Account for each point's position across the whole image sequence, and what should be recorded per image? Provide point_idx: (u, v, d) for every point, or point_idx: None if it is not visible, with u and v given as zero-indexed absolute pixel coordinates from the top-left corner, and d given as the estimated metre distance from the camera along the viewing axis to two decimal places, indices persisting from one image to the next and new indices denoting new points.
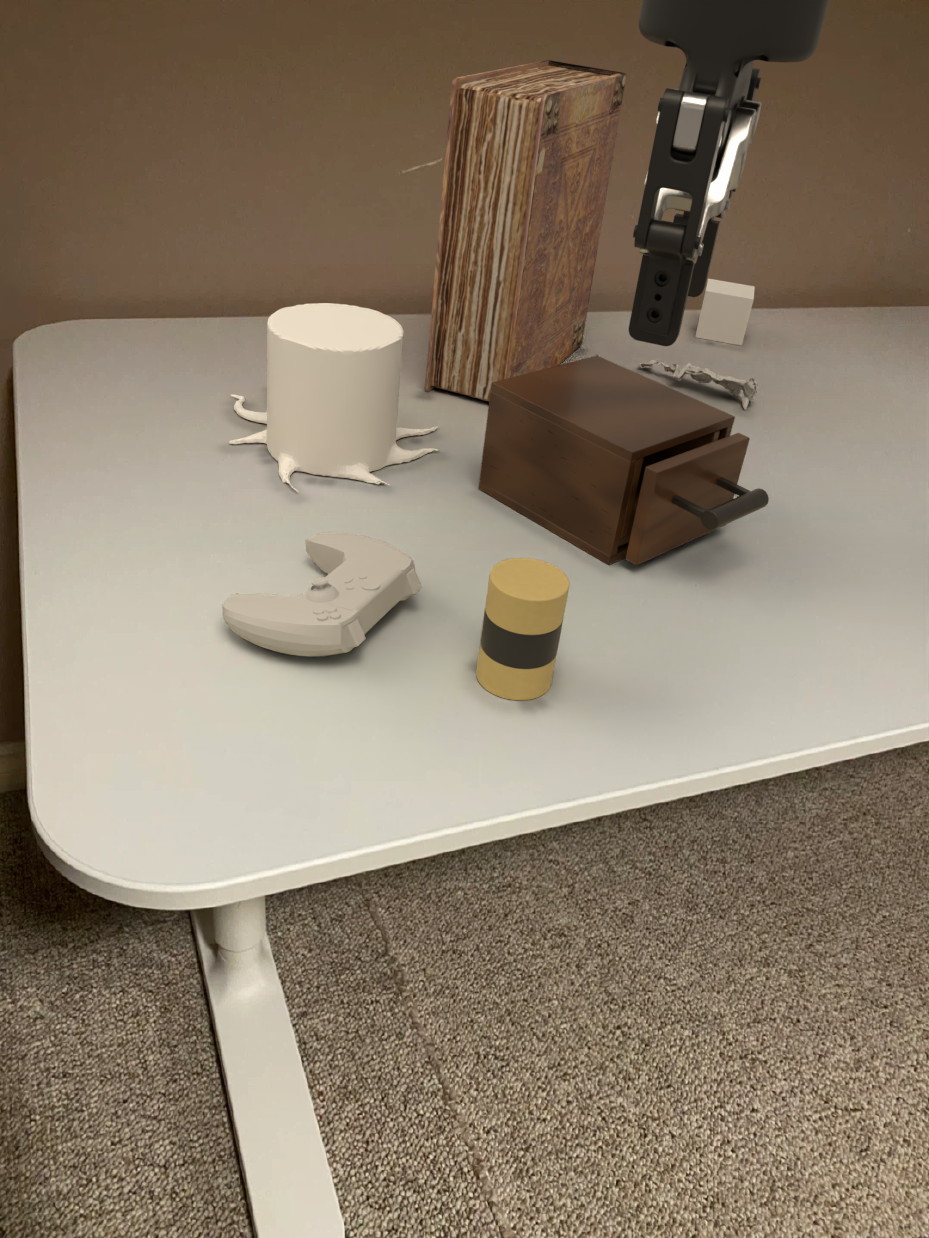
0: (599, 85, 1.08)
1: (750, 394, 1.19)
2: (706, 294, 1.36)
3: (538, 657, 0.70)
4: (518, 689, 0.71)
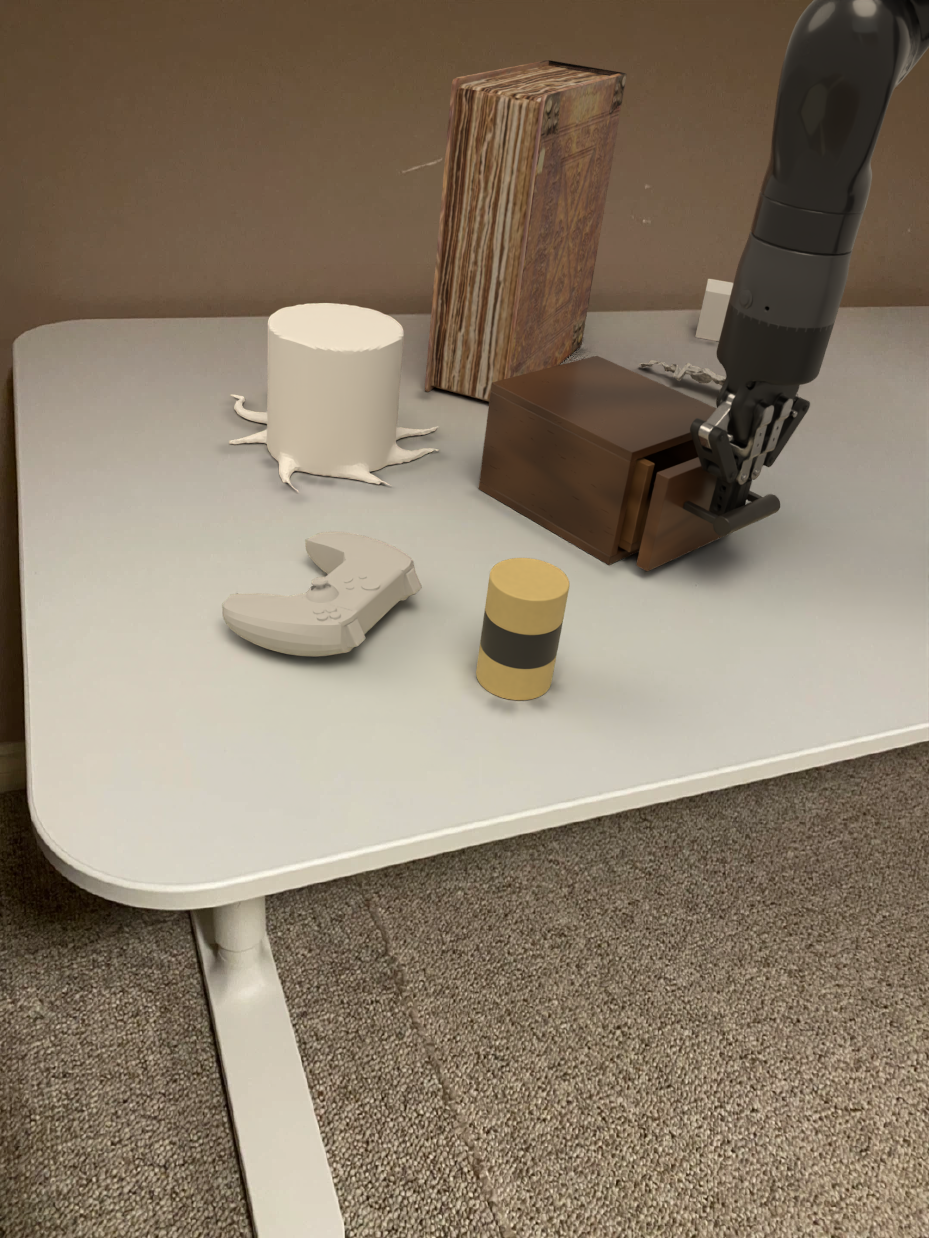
0: (599, 85, 1.08)
1: None
2: (706, 294, 1.36)
3: (538, 657, 0.70)
4: (518, 689, 0.71)
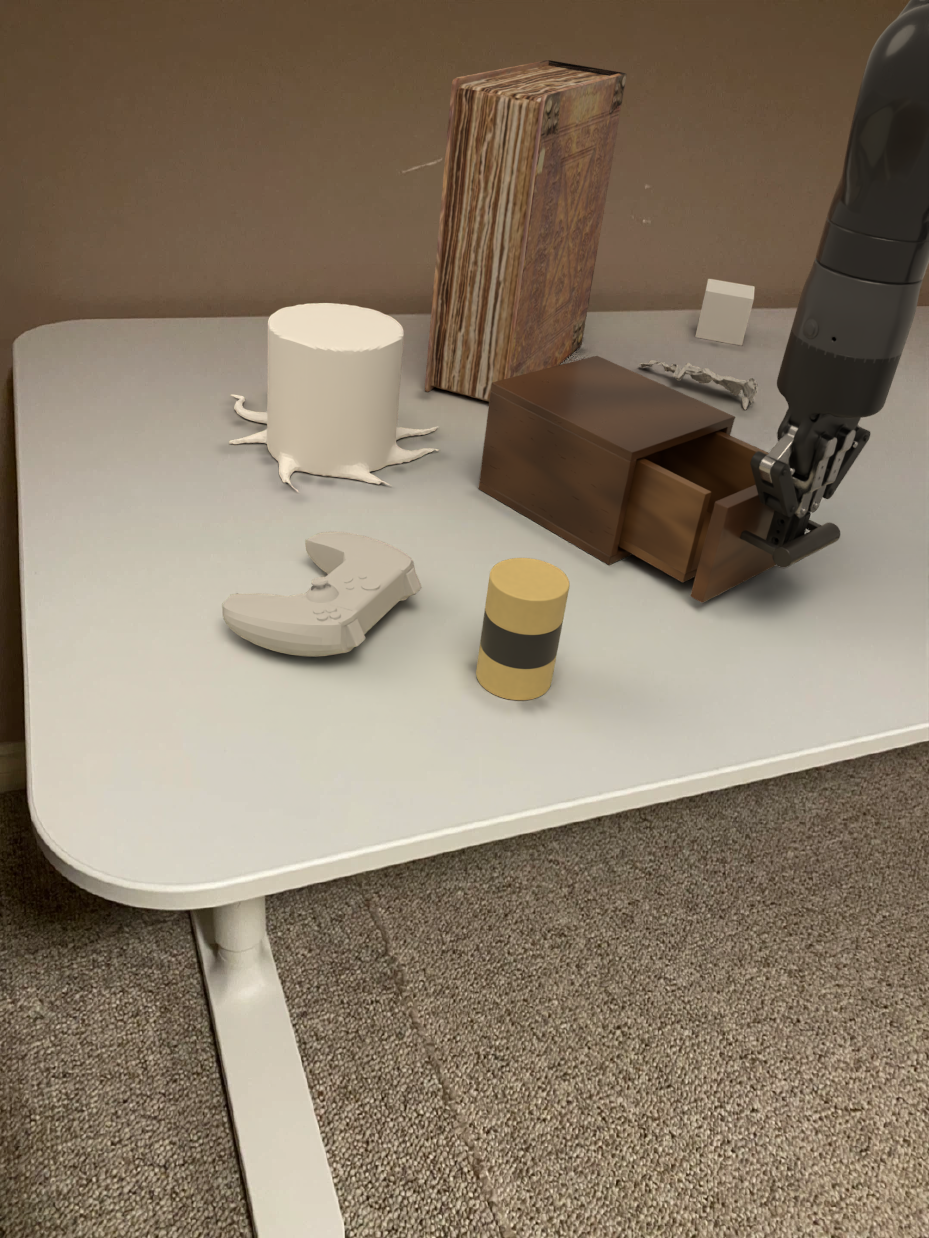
0: (600, 85, 1.08)
1: (750, 394, 1.19)
2: (706, 294, 1.36)
3: (538, 657, 0.70)
4: (518, 689, 0.71)
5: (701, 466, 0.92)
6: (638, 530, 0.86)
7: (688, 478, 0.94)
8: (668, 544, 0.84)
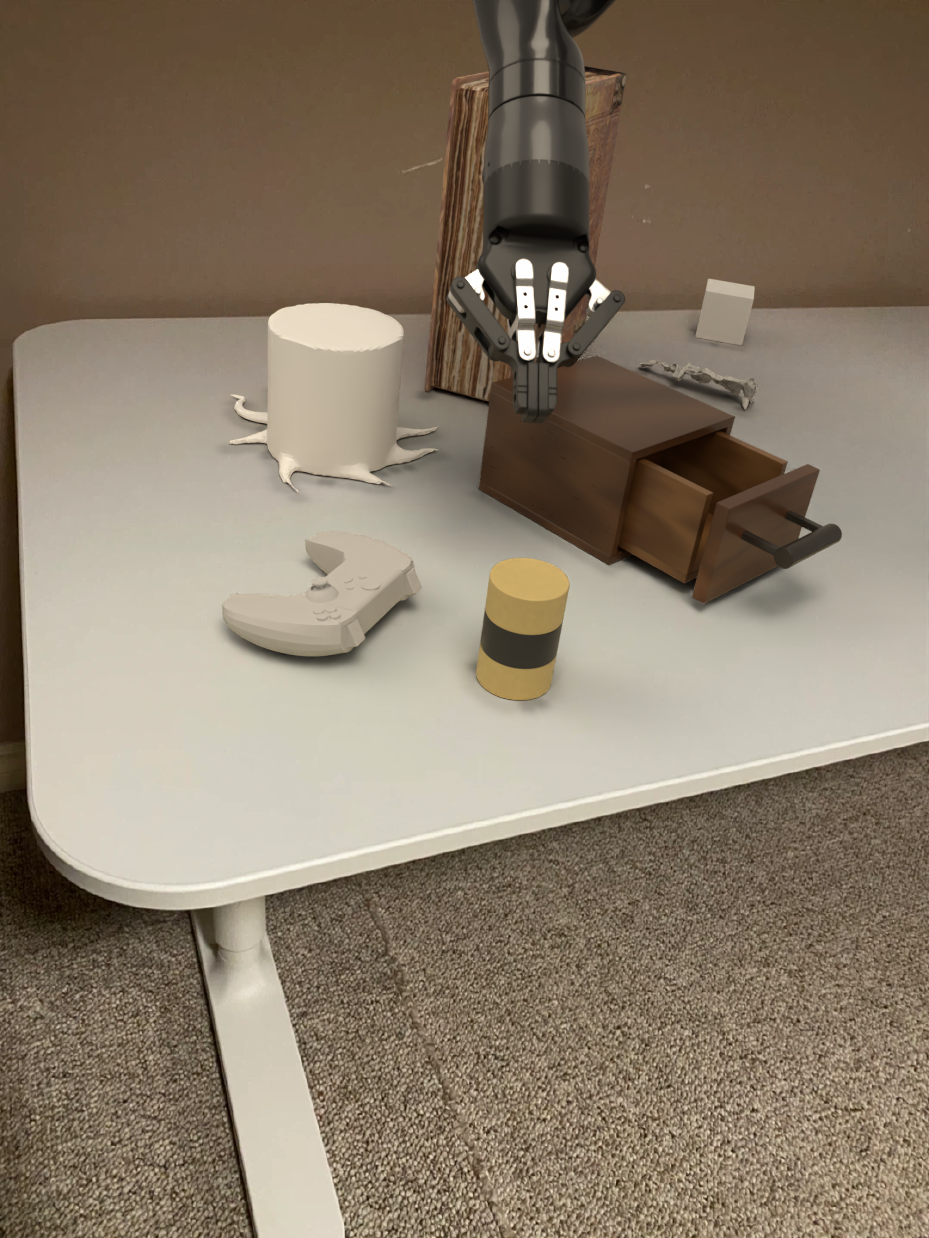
0: (599, 86, 1.08)
1: (750, 394, 1.19)
2: (706, 294, 1.36)
3: (538, 657, 0.70)
4: (518, 689, 0.71)
5: (703, 466, 0.92)
6: (639, 531, 0.86)
7: (689, 479, 0.94)
8: (670, 545, 0.84)
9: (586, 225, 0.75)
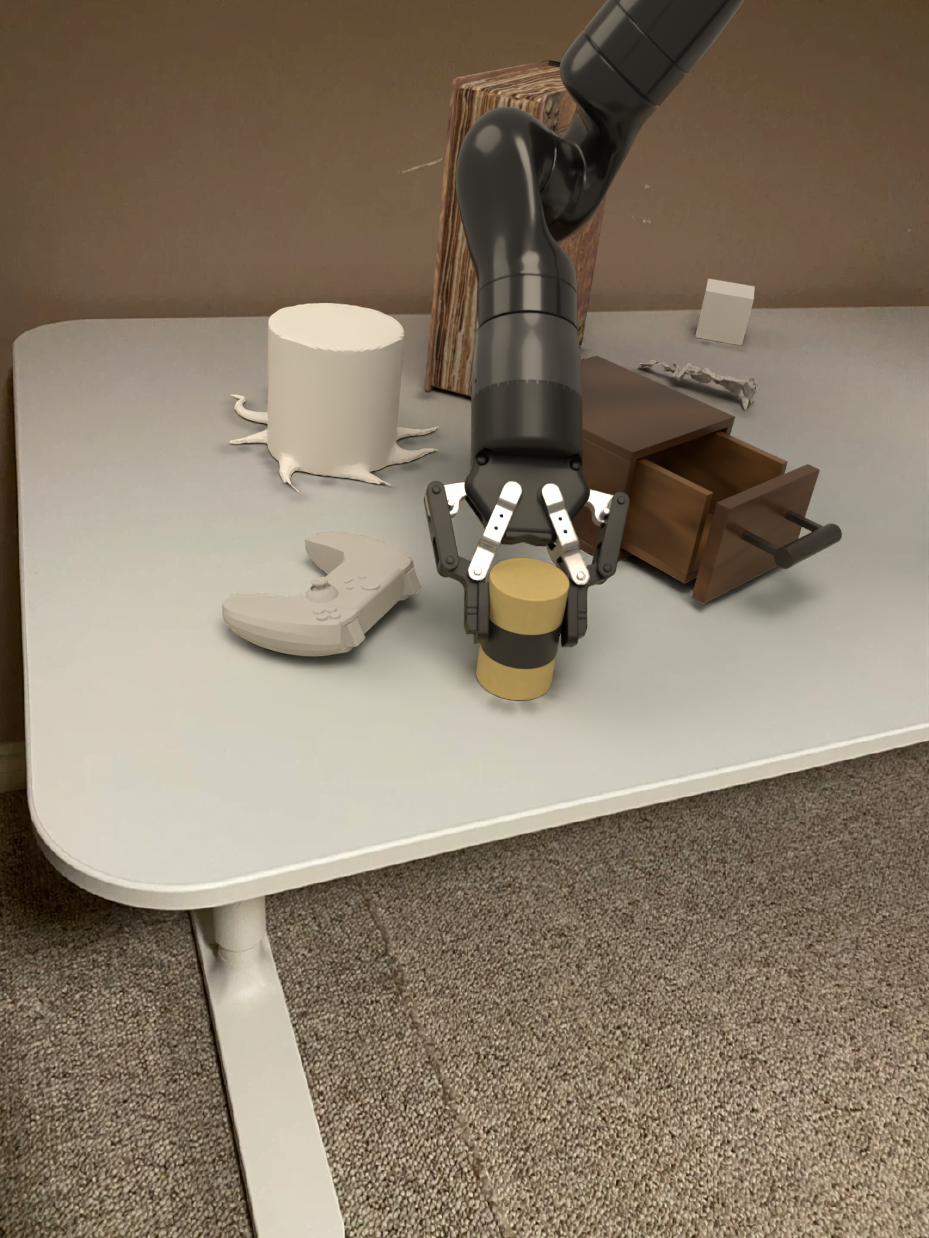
0: None
1: (750, 394, 1.19)
2: (706, 294, 1.36)
3: (538, 657, 0.70)
4: (518, 689, 0.71)
5: (703, 466, 0.92)
6: (639, 531, 0.86)
7: (689, 479, 0.94)
8: (670, 545, 0.84)
9: (578, 443, 0.71)
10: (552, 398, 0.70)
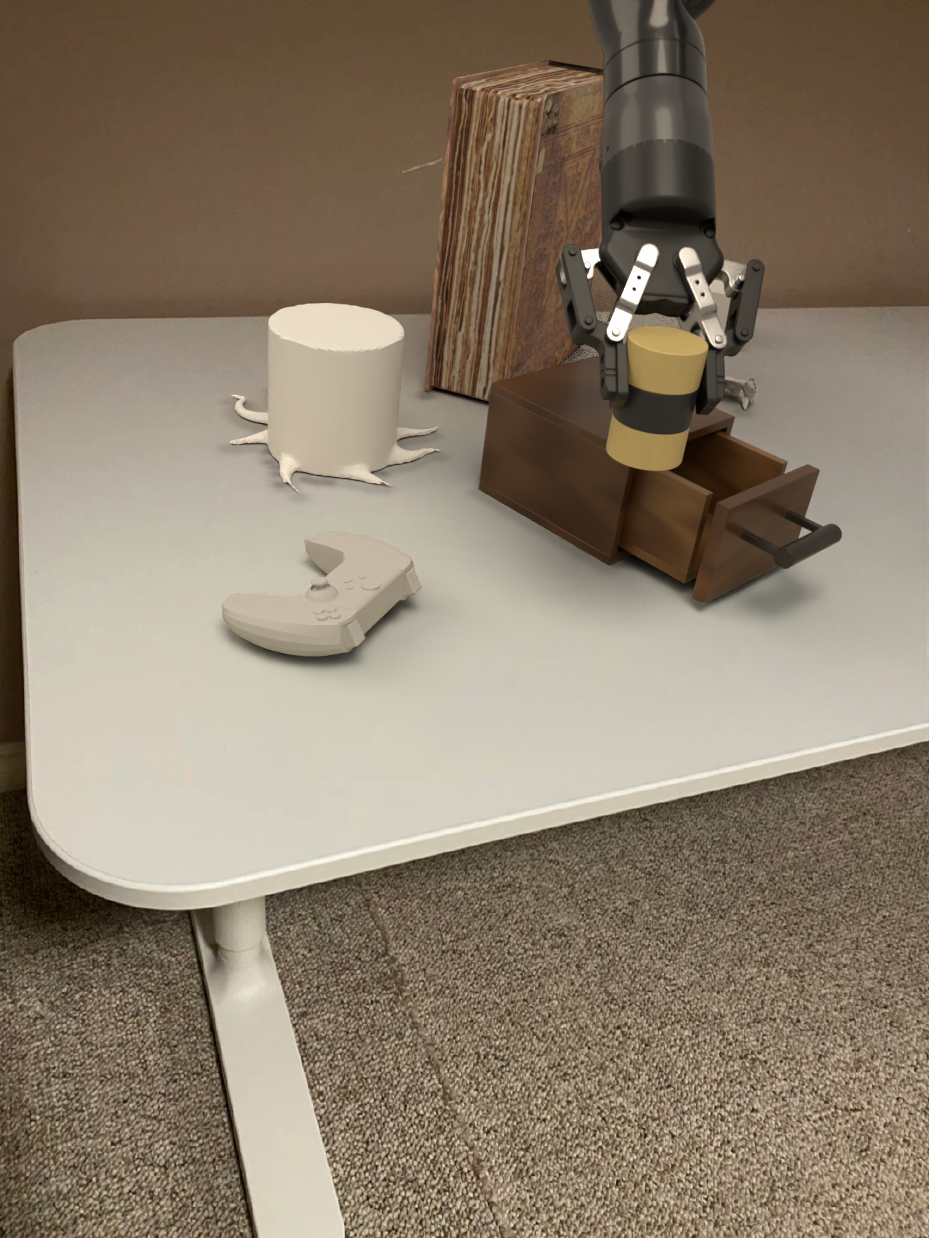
0: (600, 85, 1.08)
1: (750, 394, 1.19)
2: None
3: (676, 421, 0.70)
4: (653, 457, 0.71)
5: (703, 466, 0.92)
6: (639, 531, 0.86)
7: (689, 479, 0.94)
8: (670, 545, 0.84)
9: (714, 208, 0.70)
10: (690, 158, 0.69)
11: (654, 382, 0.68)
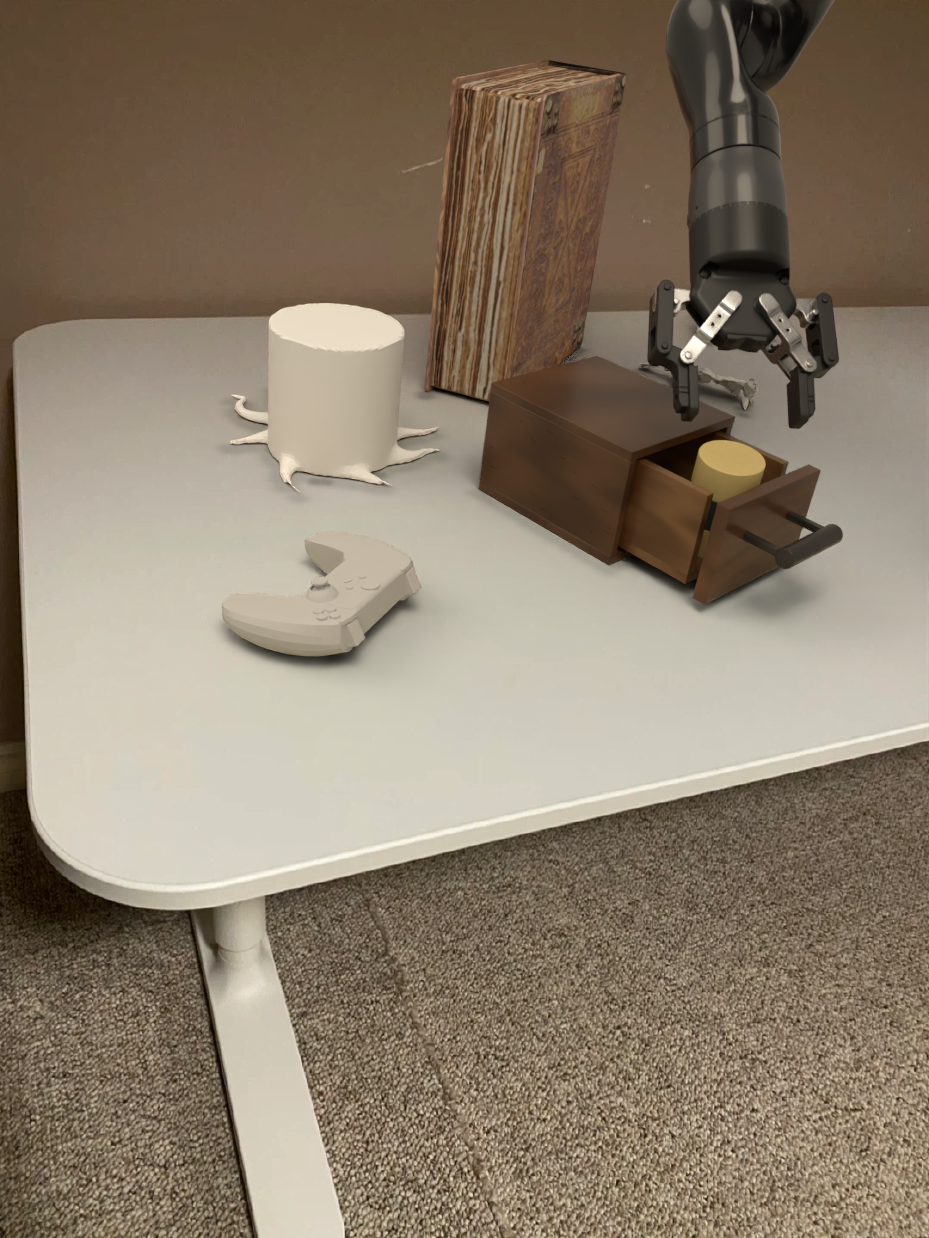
0: (599, 85, 1.08)
1: (750, 394, 1.19)
2: None
3: None
4: None
5: None
6: (640, 531, 0.86)
7: (690, 479, 0.94)
8: (671, 545, 0.84)
9: (789, 259, 0.82)
10: (769, 217, 0.81)
11: (718, 494, 0.83)
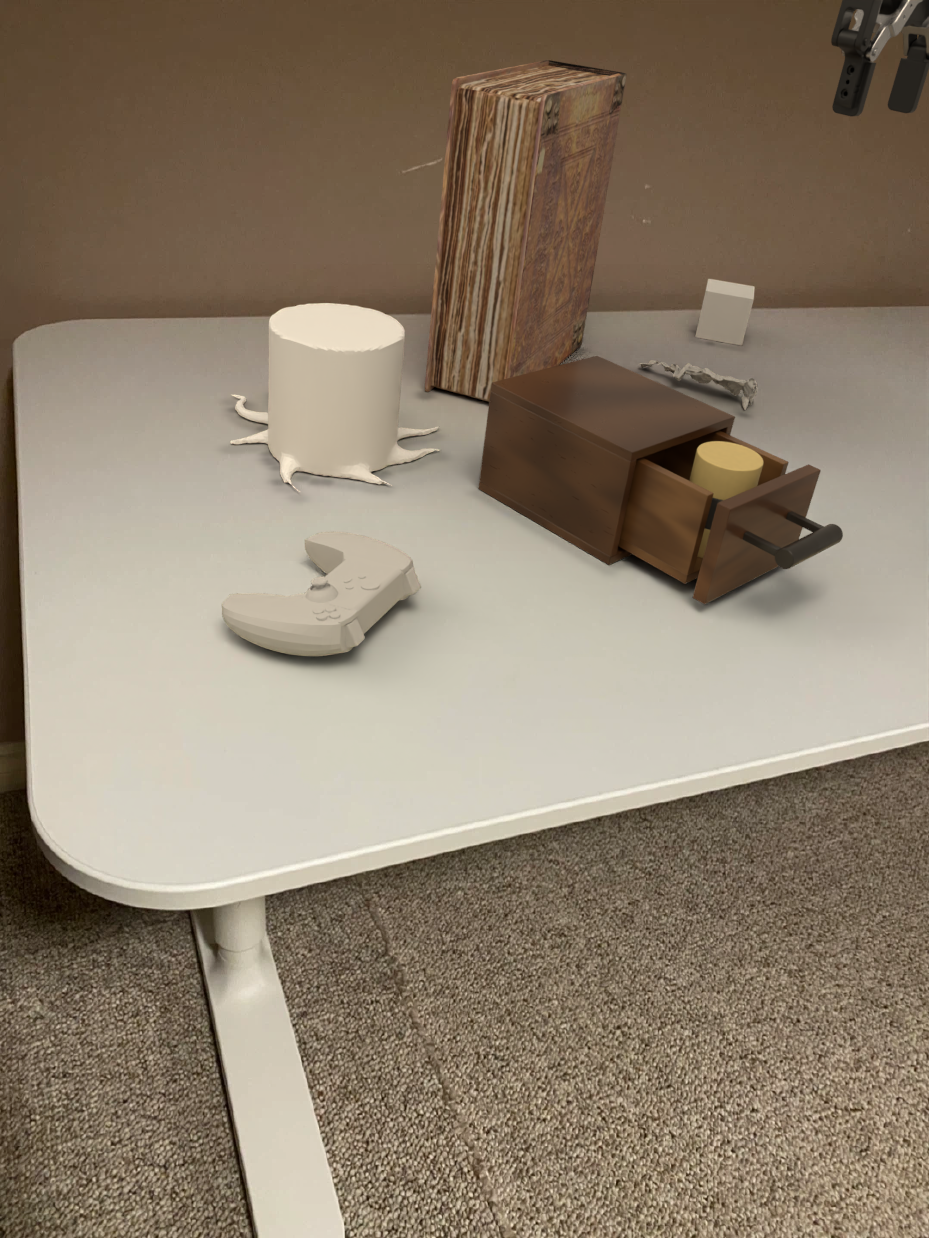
0: (600, 85, 1.08)
1: (750, 394, 1.19)
2: (706, 294, 1.36)
3: None
4: None
5: None
6: (640, 531, 0.86)
7: None
8: (671, 545, 0.84)
9: None
10: None
11: (717, 490, 0.83)
